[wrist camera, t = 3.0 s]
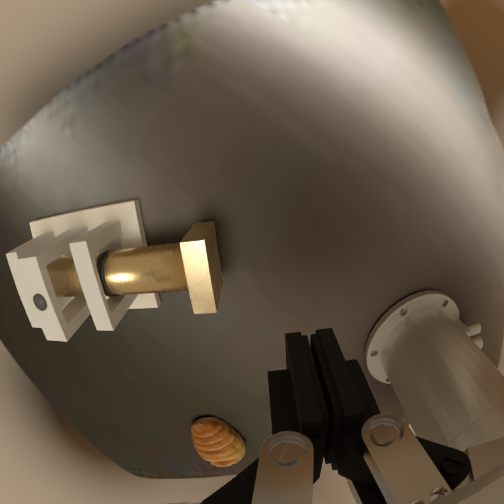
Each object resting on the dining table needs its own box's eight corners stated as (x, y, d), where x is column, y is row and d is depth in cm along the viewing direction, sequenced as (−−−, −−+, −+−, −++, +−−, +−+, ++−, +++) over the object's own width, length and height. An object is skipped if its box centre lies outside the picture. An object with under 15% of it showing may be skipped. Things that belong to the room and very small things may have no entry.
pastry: (179, 416, 33) (175, 438, 30) (227, 410, 32) (225, 433, 29) (207, 450, 36) (205, 470, 33) (250, 445, 35) (250, 466, 32)
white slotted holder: (138, 199, 24) (85, 225, 15) (160, 302, 27) (129, 362, 18) (35, 220, 24) (-23, 248, 16) (60, 305, 27) (17, 350, 19)
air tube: (214, 221, 23) (204, 240, 18) (223, 281, 24) (216, 312, 20) (57, 242, 23) (27, 261, 18) (72, 291, 25) (46, 316, 20)
